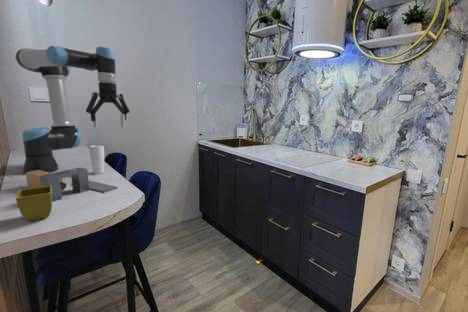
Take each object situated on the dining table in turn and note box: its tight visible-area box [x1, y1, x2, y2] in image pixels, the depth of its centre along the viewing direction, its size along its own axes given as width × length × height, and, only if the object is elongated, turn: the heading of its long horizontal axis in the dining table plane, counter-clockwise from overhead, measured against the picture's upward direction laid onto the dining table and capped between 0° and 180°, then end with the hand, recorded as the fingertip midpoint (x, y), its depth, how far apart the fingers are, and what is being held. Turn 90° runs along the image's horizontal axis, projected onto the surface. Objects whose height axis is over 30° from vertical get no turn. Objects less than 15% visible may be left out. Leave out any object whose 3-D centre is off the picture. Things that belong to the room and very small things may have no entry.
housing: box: [40, 166, 90, 203], centre depth 99 cm, size 5×16×10 cm, turn 156°
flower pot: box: [15, 186, 53, 222], centre depth 79 cm, size 9×9×9 cm
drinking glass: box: [89, 144, 105, 175], centre depth 131 cm, size 7×7×15 cm
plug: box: [25, 170, 67, 192], centre depth 105 cm, size 21×5×7 cm, turn 66°
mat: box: [70, 179, 119, 194], centre depth 111 cm, size 22×7×1 cm, turn 66°
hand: (110, 127), depth 119 cm, fingers open, 13 cm apart
